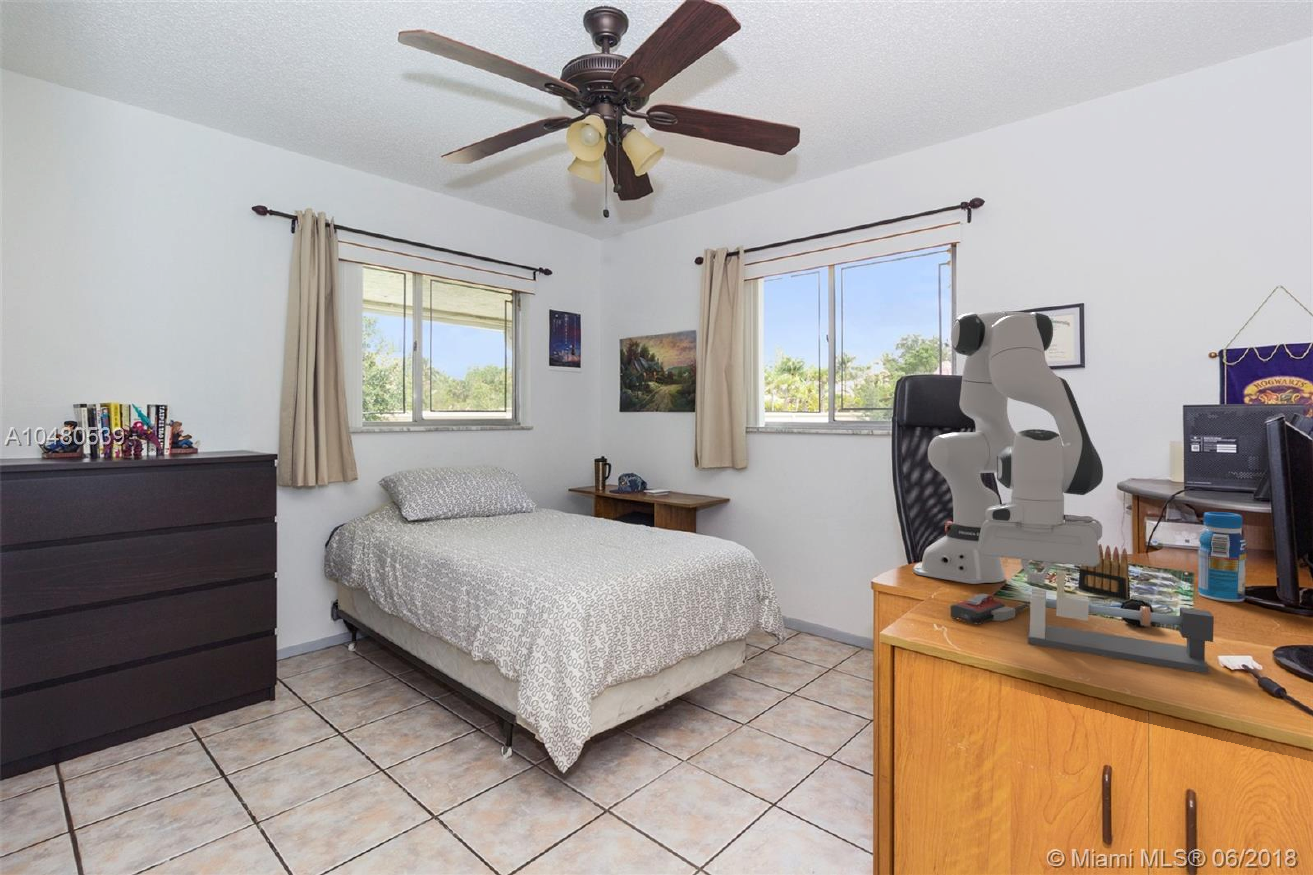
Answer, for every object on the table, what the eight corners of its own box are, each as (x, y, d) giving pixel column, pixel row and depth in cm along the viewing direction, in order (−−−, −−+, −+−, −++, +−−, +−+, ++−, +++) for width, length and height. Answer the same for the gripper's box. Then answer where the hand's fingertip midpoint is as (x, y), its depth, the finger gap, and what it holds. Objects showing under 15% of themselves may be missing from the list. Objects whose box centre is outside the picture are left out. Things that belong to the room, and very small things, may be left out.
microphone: (1138, 619, 140) (1123, 630, 126) (1129, 593, 142) (1114, 601, 128) (1167, 617, 137) (1156, 628, 122) (1158, 590, 138) (1146, 598, 124)
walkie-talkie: (985, 630, 126) (1033, 612, 137) (985, 609, 125) (1033, 593, 137) (944, 618, 133) (993, 602, 144) (945, 598, 133) (993, 584, 144)
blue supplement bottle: (1187, 592, 150) (1189, 511, 149) (1220, 592, 150) (1222, 510, 149) (1220, 603, 141) (1222, 517, 140) (1255, 602, 141) (1258, 516, 141)
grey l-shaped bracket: (1056, 615, 117) (1057, 574, 117) (1056, 610, 120) (1057, 570, 120) (1088, 620, 115) (1089, 578, 114) (1087, 615, 118) (1088, 573, 117)
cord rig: (1027, 643, 117) (1028, 596, 117) (1030, 628, 126) (1030, 584, 125) (1216, 675, 103) (1217, 622, 102) (1204, 655, 111) (1205, 606, 111)
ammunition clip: (1078, 588, 154) (1078, 541, 154) (1082, 587, 155) (1083, 540, 155) (1125, 599, 145) (1126, 549, 144) (1130, 598, 145) (1131, 548, 145)
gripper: (1101, 515, 117) (1100, 586, 117) (980, 506, 128) (980, 572, 129) (1103, 519, 112) (1102, 595, 112) (977, 510, 123) (976, 579, 123)
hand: (1035, 582), depth 121 cm, fingers closed
